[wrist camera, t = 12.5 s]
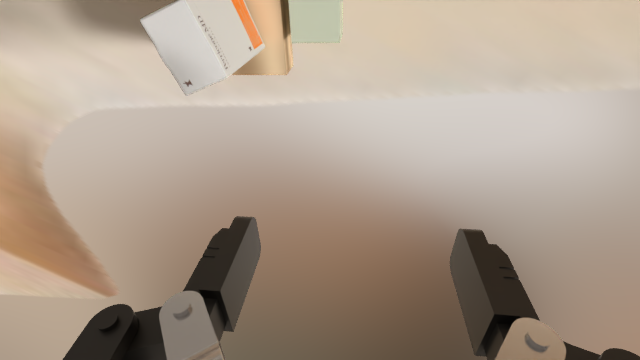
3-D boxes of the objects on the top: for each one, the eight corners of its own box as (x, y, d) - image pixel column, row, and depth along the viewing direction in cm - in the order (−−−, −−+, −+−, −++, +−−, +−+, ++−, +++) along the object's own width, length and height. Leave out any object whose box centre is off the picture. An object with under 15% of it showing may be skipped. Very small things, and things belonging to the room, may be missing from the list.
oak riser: (285, -33, 33) (277, -33, 30) (293, 65, 39) (286, 74, 36) (195, -30, 34) (177, -29, 31) (215, 65, 40) (201, 74, 37)
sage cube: (342, -18, 34) (340, -15, 29) (342, 33, 36) (339, 42, 32) (296, -17, 34) (287, -14, 30) (299, 34, 37) (291, 43, 33)
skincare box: (267, 46, 34) (229, 80, 24) (234, 61, 35) (184, 98, 26) (239, -15, 31) (182, -5, 21) (204, 3, 32) (135, 20, 23)
